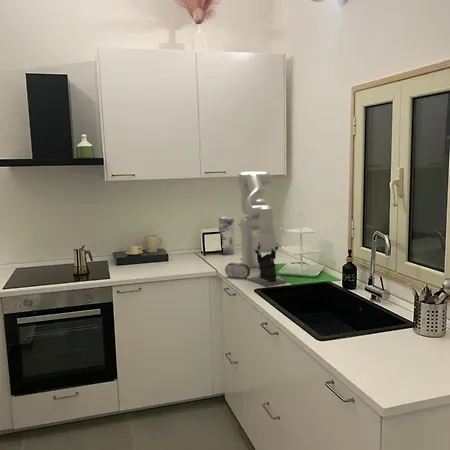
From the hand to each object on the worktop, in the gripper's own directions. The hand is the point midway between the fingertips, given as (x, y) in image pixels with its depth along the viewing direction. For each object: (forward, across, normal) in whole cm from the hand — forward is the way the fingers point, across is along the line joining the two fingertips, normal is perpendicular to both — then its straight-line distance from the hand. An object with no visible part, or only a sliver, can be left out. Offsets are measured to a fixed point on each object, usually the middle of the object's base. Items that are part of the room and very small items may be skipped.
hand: (266, 259), depth 264 cm
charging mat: (+12, 0, +1) cm, 12 cm away
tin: (+13, +8, -16) cm, 22 cm away
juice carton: (+14, -24, -78) cm, 83 cm away
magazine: (+11, 0, +1) cm, 11 cm away
